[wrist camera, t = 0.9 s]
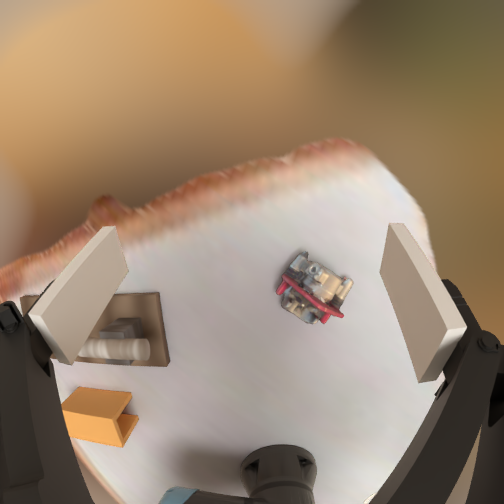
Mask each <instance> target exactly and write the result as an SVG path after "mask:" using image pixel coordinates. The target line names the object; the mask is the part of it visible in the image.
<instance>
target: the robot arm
mask: <svg viewBox="0 0 504 504" xmlns="http://www.w3.org/2000/svg"><path fill="white" fill-rule="evenodd" d="M128 272H129V270H128V267H127V264H126V261H125V257H124V254H123V251H122V248H121V244H120V241H119V237H118V234H117V230H116V227H115V226H108V227H103V228H102V229H101V230H100V231H99V232H98V233H97V234H96V235H95V236H94V237H93V238H92V239H91V240H90V241H89V242H88V243H87V244H86V245H85V246H84V248H83V249H82V250H81V251H80V252H79V253H78V254H77V255H76V256H75V258H74V259H73V260H72V261H71V262H70V263H69V264H68V265H67V267H66V268H65V269H64V270H63V271H62V272H61V274H60V275H59V276H58V277H57V278H56V279H55V280H54V281H52V282H51V283H50V284H49V285H48V286H47V287H46V289H45V290H44V292H42V294H41V295H40V296H39V298H38V299H37V300H36V301H35V302H34V304H33V305H32V306H31V307H30V309H29V310H28V311H27V313H26V314H25V315H24V317H22V315H21V313H20V312H19V310H18V308H17V306H16V305H15V303H14V302H13V301H6V302H4V303H2V304H0V504H95V503H94V502H93V500H92V498H91V496H90V493H89V491H88V489H87V486H86V483H85V481H84V478H83V476H82V473H81V470H80V468H79V465H78V462H77V459H76V456H75V453H74V450H73V447H72V443H71V440H70V437H69V433H68V430H67V426H66V423H65V419H64V415H63V411H62V407H61V402H60V398H59V393H58V388H57V383H56V378H55V373H54V367H53V363H52V361H51V359H50V357H51V355H52V353H53V354H54V355H55V357H56V358H57V360H58V361H59V362H61V363H64V364H68V365H73V363H74V361H75V359H76V358H77V356H78V354H79V352H80V350H81V349H82V347H83V345H84V343H85V341H86V340H87V338H88V336H89V334H90V333H91V331H92V329H93V328H94V326H95V324H96V323H97V321H98V319H99V318H100V316H101V314H102V313H103V311H104V309H105V308H106V306H107V304H108V303H109V301H110V300H111V298H112V296H113V295H114V293H115V292H116V290H117V289H118V287H119V285H120V284H121V282H122V281H123V279H124V278H125V276H126V275H127V273H128ZM380 275H381V277H382V280H383V282H384V285H385V287H386V290H387V292H388V295H389V297H390V300H391V303H392V305H393V308H394V311H395V313H396V316H397V319H398V322H399V324H400V327H401V330H402V333H403V336H404V339H405V342H406V345H407V348H408V351H409V354H410V357H411V360H412V363H413V367H414V370H415V373H416V377H417V380H418V383H422V382H428V381H434V380H437V378H438V377H439V375H440V373H441V372H442V370H443V373H444V375H445V378H446V379H445V380H444V382H443V383H442V385H441V386H440V388H439V389H438V390H437V392H436V393H435V396H436V398H435V400H434V402H433V404H432V406H431V408H430V410H429V412H428V414H427V415H426V417H425V419H424V421H423V423H422V425H421V426H420V428H419V430H418V432H417V434H416V435H415V437H414V439H413V440H412V442H411V444H410V445H409V447H408V449H407V450H406V452H405V453H404V455H403V456H402V458H401V460H400V461H399V463H398V464H397V466H396V467H395V469H394V470H393V472H392V473H391V474H390V476H389V477H388V479H387V480H386V481H385V483H384V484H383V486H382V487H381V488H380V490H379V491H378V492H377V494H376V495H375V496H374V497H373V499H372V500H371V501H370V503H369V504H445V503H446V501H447V499H448V497H449V496H450V494H451V492H452V490H453V488H454V486H455V484H456V482H457V480H458V478H459V476H460V474H461V472H462V470H463V468H464V466H465V464H466V462H467V459H468V457H469V455H470V453H471V450H472V448H473V445H474V443H475V440H476V438H477V435H478V433H479V430H480V427H481V424H482V427H481V434H480V440H479V447H478V452H477V458H476V463H475V468H474V473H473V477H472V481H471V485H470V489H469V493H468V497H467V500H466V503H465V504H504V345H501V344H500V341H499V340H498V339H497V337H496V336H495V335H493V334H492V333H490V332H488V331H485V330H481V328H480V326H479V324H478V322H477V320H476V319H475V317H474V315H473V313H472V312H471V310H470V308H469V306H468V305H467V303H466V301H465V299H464V298H462V295H461V293H460V291H459V290H458V288H457V287H456V286H455V285H454V284H453V283H452V282H451V281H449V280H448V279H446V280H445V279H444V280H441V279H440V278H439V276H438V274H437V273H436V271H435V270H434V268H433V266H432V265H431V263H430V262H429V260H428V259H427V257H426V255H425V254H424V252H423V251H422V249H421V248H420V246H419V245H418V243H417V242H416V240H415V239H414V237H413V236H412V235H411V233H410V232H409V230H408V229H407V227H406V226H405V225H404V223H389V226H388V232H387V237H386V243H385V248H384V253H383V258H382V263H381V268H380ZM316 474H317V467H316V463H315V459H314V457H313V456H312V455H311V454H310V453H309V452H308V451H306V450H305V449H302V448H300V447H296V446H291V445H274V446H268V447H265V448H262V449H259V450H257V451H255V452H253V453H251V454H250V455H249V456H248V457H247V458H246V459H245V460H244V461H243V463H242V466H241V480H242V483H243V485H244V487H245V489H246V491H247V494H248V496H249V498H247V497H238V496H230V495H223V494H217V493H211V492H205V491H200V490H199V489H188V488H182V487H172V488H170V489H169V490H167V491H166V493H165V494H164V495H163V497H162V499H161V500H160V502H159V504H315V501H314V497H313V492H312V491H313V487H314V483H315V478H316Z"/></svg>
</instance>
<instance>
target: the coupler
mask: <svg viewBox="0 0 504 504" xmlns="http://www.w3.org/2000/svg"><path fill="white" fill-rule="evenodd" d="M131 398H132V395H131V393H130V392H119V391H109V390H100V389H92V388H85V387H78V388H77V389H76V390H75V391H74V392H73V393H72V394H71V395H70V396H69V397H68V398H67V399H66V400H65V401H64V402H63V403H62V404H61V407H62V411H63V415H64V419H65V423H66V426H67V430H68V433H69V437H73V438H77V439H81V440H86V441H90V442H95V443H100V444H105V445H111V446H116V447H122V448H123V446H124V445H125V443H126V441H127V439H128V438H129V436H130V434H131V432H132V431H133V429H134V427H135V425H136V424H137V422H138V420H139V418H138V416H137V415H128V414H121V413H122V411H123V410H124V408H125V407H126V405H127V404H128V402H129V401H130V399H131Z"/></svg>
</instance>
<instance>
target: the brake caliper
mask: <svg viewBox="0 0 504 504" xmlns="http://www.w3.org/2000/svg"><path fill="white" fill-rule="evenodd" d="M307 258H308V252H306V251H305V252H303V253H301V254H300V255H298V256H297V258H296V259H295V260H294V261H293V262H292V263H291V265H290V266H289V268H288V269H287V271H286V272H285V273H284V274H283V275H282V279H283V281H282V283H281V284H280V286H279V287H278V289H277V290H276V294H278V295H281V294H283V293H285V294H284V299H283V301H282V304H281V306H282V307H283V308H284V309H286V310H287V311H288V312H291V313H293V314H294V315H296V316H297V317H298V318H300V319H301V320H303V321H304V322H306V323H310V324H315V323H317V321H318V318H319V320H320V321H321V322H322V323H323V324H325V323H326V322H327V320H328V319H329V317H330V316H331V315H333V316H337V317H340V318H343V317H344V315H343V313H341V312H340V311H339V308H340V306H341V305H342V303H343V301H344V299H345V297H346V296H347V294H348V292H349V290H350V289H351V287H352V285H353V280H352V279H350V278H349V279H347V278H346V277H344V278H343V279H341V278H340V277H339V276H338V275H336V274H335V273H333V272H332V271H330V270H328V269H327V268H326V267H324V266H323V265H321V264H319V263H314V262H312V261H308V260H307Z"/></svg>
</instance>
